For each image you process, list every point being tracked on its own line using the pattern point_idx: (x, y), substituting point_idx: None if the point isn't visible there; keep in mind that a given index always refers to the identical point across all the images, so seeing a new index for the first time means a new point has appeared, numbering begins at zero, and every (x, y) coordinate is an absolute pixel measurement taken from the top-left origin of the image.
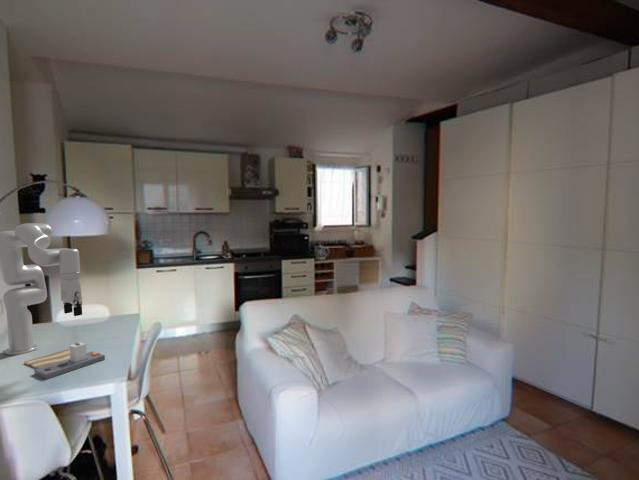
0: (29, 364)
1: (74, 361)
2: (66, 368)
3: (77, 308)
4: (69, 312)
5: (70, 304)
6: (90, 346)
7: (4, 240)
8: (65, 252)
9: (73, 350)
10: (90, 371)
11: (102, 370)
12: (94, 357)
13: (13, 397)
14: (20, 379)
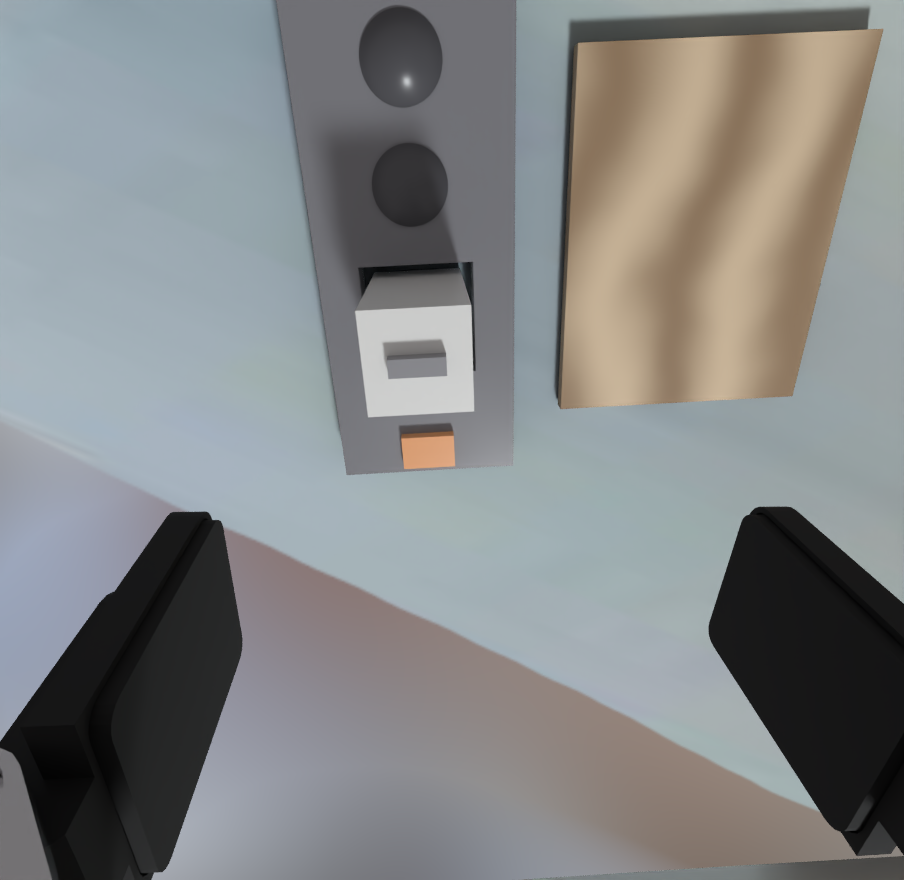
0: (773, 35)
1: (391, 279)
2: (303, 171)
3: (27, 746)
4: (722, 587)
5: (847, 805)
6: (711, 519)
7: None
8: None
9: (392, 299)
10: (193, 297)
11: (147, 356)
12: (361, 414)
13: None
14: None
